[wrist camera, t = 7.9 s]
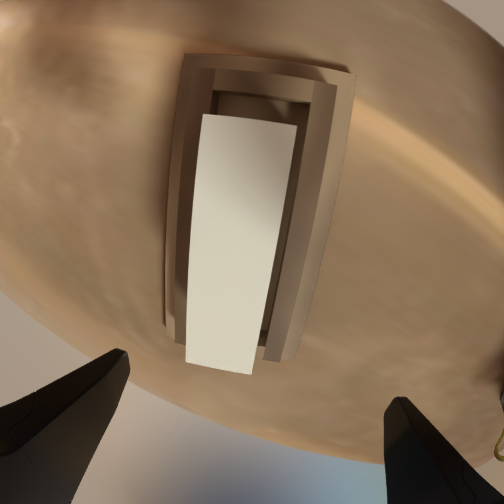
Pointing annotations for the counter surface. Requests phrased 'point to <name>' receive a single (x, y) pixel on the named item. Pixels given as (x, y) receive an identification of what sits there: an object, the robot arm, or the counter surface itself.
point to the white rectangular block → (234, 236)
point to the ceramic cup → (500, 458)
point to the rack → (298, 188)
